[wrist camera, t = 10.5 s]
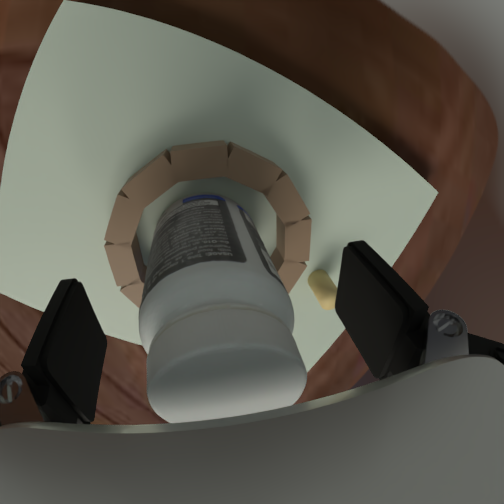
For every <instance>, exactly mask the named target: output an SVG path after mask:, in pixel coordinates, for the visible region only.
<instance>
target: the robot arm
mask: <svg viewBox="0 0 504 504" xmlns="http://www.w3.org/2000/svg"><path fill="white" fill-rule="evenodd" d="M428 308H429V307H428V305H427V304H426V303H425V302H424V301H423V300H422V299H421V298H420V297H419V296H418V294H417V293H416V292H415V291H414V290H413V289H412V288H411V287H410V286H409V285H408V284H407V283H406V282H405V281H404V280H403V279H402V278H401V277H400V276H399V274H398V273H397V272H396V271H395V270H394V269H393V268H392V267H391V266H390V265H389V264H388V263H387V262H386V261H385V260H384V259H383V258H382V257H381V256H380V255H379V254H378V253H377V252H376V251H375V250H374V249H373V248H372V247H371V246H370V245H368V244H367V243H366V242H365V241H364V240H360V241H353V242H349V243H348V244H347V246H346V247H344V248H343V253H342V260H341V267H340V274H339V281H338V287H337V294H336V300H335V311H336V313H337V315H338V317H339V318H340V320H341V322H342V323H343V325H344V327H345V328H346V330H347V332H348V333H349V335H350V337H351V338H352V340H353V342H354V343H355V345H356V347H357V348H358V350H359V352H360V353H361V355H362V357H363V358H364V360H365V362H366V364H367V365H368V367H369V369H370V370H371V372H372V374H373V376H374V377H375V378H379V379H380V380H379V381H376V382H373V383H370V384H367V385H364V386H361V387H358V388H355V389H352V390H348V391H345V392H342V393H338V394H335V395H331V396H328V397H324V398H320V399H316V400H312V401H308V402H304V403H300V404H296V405H292V406H287V407H283V408H278V409H273V410H268V411H263V412H257V413H252V414H246V415H240V416H233V417H226V418H219V419H211V420H202V421H193V422H181V423H168V424H149V425H92V424H90V422H92V421H94V418H95V410H96V403H97V397H98V391H99V385H100V379H101V373H102V368H103V363H104V358H105V353H106V348H107V339H106V336H105V334H104V332H103V330H102V327H101V325H100V323H99V321H98V319H97V317H96V314H95V312H94V310H93V308H92V305H91V303H90V301H89V298H88V296H87V293H86V291H85V288H84V286H83V284H82V283H81V282H78V280H77V279H76V278H71V279H64V280H61V281H60V282H59V284H58V286H57V288H56V290H55V291H54V293H53V295H52V297H51V299H50V301H49V303H48V305H47V307H46V309H45V311H44V313H43V315H42V317H41V319H40V322H39V324H38V326H37V328H36V330H35V333H34V335H33V337H32V339H31V342H30V344H29V346H28V349H27V351H26V354H25V356H24V359H23V361H22V364H21V366H22V367H23V369H24V370H23V372H22V374H21V373H20V372H16V371H12V372H8V373H6V374H4V375H3V376H2V377H1V378H0V504H504V344H502V343H499V342H496V341H492V340H489V339H486V338H483V337H479V336H476V335H473V334H469V333H468V332H467V326H466V324H465V322H464V320H463V319H462V318H461V317H460V316H459V315H457V314H455V313H453V312H451V311H448V310H437V311H435V312H433V313H432V314H431V315H430V314H429V313H428V312H427V310H428Z"/></svg>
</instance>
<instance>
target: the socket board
mask: <svg viewBox="0 0 504 504" xmlns="http://www.w3.org/2000/svg"><path fill="white" fill-rule="evenodd" d="M197 193H214V194H219V195H222V196H225V197H228V198H230V199H232V200H233V201H235V202H236V203H238V204H239V205H240V206H241V207H242V208H243V209H244V210H245V211H246V212H247V213H248V214H249V216H250V218H251V219H252V221H253V223H254V225H255V227H256V229H257V231H258V233H259V235H260V237H261V240H262V241H263V243H264V246H265V248H266V250H267V252H268V254H269V256H270V258H271V260H272V262H273V264H274V266H275V268H276V270H277V272H278V274H279V276H280V278H281V280H282V282H283V284H284V286H285V288H286V290H287V292H288V295H289V297H290V299H291V302H292V306H293V310H294V320H295V322H294V329H293V333H292V335H293V337H294V339H295V342H296V344H297V347H298V350H299V352H300V355H301V357H302V360H303V362H304V364H305V367H306V371H307V372H308V371H309V370H310V369H311V368H312V367H313V365H314V364H315V363H316V362H317V361H318V360H319V359H320V358H321V356H322V355H323V354H324V353H325V352H326V351H327V350H328V348H329V347H330V346H331V345H332V344H333V343H334V341H335V340H336V339H337V338H338V337H339V335H340V334H341V333H342V332H343V331H344V329H345V327H344V325H343V323H342V322H341V320H340V318H339V317H338V315H337V313H336V311H335V300H336V294H337V287H338V281H339V274H340V267H341V260H342V253H343V248H344V247H346V246H347V244H348V243H349V242H353V241H360V240H364V241H365V242H366V243H367V244H368V245H370V246H371V247H372V248H373V249H374V250H375V251H376V252H377V253H378V254H379V255H380V256H381V257H382V258H383V259H384V260H385V261H386V262H387V263H388V264H389V265H390V266H391V267H392V266H393V264H394V263H395V261H396V260H397V258H398V257H399V255H400V254H401V252H402V251H403V249H404V248H405V246H406V245H407V243H408V242H409V240H410V238H411V237H412V235H413V234H414V232H415V231H416V229H417V227H418V226H419V224H420V223H421V221H422V219H423V218H424V216H425V214H426V213H427V211H428V209H429V208H430V206H431V204H432V202H433V201H434V199H435V197H436V195H437V194H438V192H437V191H436V190H435V189H434V188H433V187H432V186H431V185H430V184H429V183H428V182H427V181H426V180H425V179H424V178H423V177H421V176H420V175H419V174H418V173H417V172H416V171H415V170H414V169H413V168H411V167H410V166H409V165H408V164H407V163H406V162H405V161H403V160H402V159H401V158H400V157H399V156H398V155H396V154H395V153H394V152H393V151H392V150H390V149H389V148H388V147H387V146H385V145H384V144H383V143H382V142H380V141H379V140H378V139H377V138H375V137H374V136H373V135H371V134H370V133H369V132H367V131H366V130H365V129H363V128H362V127H361V126H359V125H358V124H357V123H355V122H354V121H353V120H351V119H350V118H348V117H347V116H345V115H344V114H343V113H341V112H340V111H338V110H337V109H335V108H334V107H332V106H331V105H329V104H328V103H326V102H325V101H323V100H322V99H320V98H319V97H317V96H315V95H314V94H312V93H311V92H309V91H307V90H306V89H304V88H302V87H301V86H299V85H297V84H296V83H294V82H292V81H291V80H289V79H287V78H285V77H284V76H282V75H280V74H278V73H276V72H274V71H273V70H271V69H269V68H267V67H265V66H263V65H261V64H259V63H257V62H255V61H253V60H251V59H249V58H247V57H245V56H243V55H241V54H239V53H237V52H235V51H233V50H231V49H228V48H226V47H224V46H222V45H219V44H217V43H215V42H212V41H210V40H208V39H205V38H203V37H200V36H198V35H195V34H192V33H190V32H187V31H184V30H182V29H179V28H176V27H173V26H170V25H167V24H164V23H161V22H158V21H155V20H152V19H149V18H145V17H142V16H138V15H135V14H131V13H127V12H123V11H119V10H115V9H111V8H106V7H101V6H96V5H91V4H86V3H80V2H74V1H66V0H64V1H63V2H62V4H61V6H60V8H59V9H58V11H57V13H56V15H55V17H54V19H53V20H52V22H51V24H50V26H49V28H48V30H47V32H46V34H45V36H44V39H43V41H42V43H41V45H40V47H39V50H38V52H37V54H36V56H35V59H34V61H33V64H32V66H31V69H30V71H29V74H28V77H27V79H26V82H25V85H24V88H23V91H22V94H21V97H20V100H19V103H18V107H17V110H16V114H15V117H14V121H13V125H12V129H11V133H10V137H9V141H8V146H7V151H6V156H5V161H4V167H3V173H2V180H1V187H0V293H2V294H4V295H6V296H8V297H10V298H13V299H15V300H17V301H19V302H21V303H24V304H26V305H28V306H31V307H33V308H35V309H38V310H40V311H43V312H44V311H45V309H46V307H47V305H48V303H49V301H50V299H51V297H52V295H53V293H54V291H55V290H56V288H57V286H58V284H59V282H60V281H61V280H64V279H71V278H76V279H77V280H78V282H81V283H82V284H83V286H84V288H85V291H86V293H87V296H88V298H89V301H90V303H91V305H92V308H93V310H94V312H95V314H96V317H97V319H98V321H99V323H100V325H101V327H102V330H103V332H104V334H106V335H109V336H112V337H116V338H119V339H122V340H126V341H129V342H132V343H136V344H139V345H142V342H141V339H140V335H139V319H138V318H139V308H140V305H141V301H142V294H143V288H144V283H145V275H146V270H147V264H148V259H149V255H150V249H151V245H152V240H153V235H154V231H155V228H156V225H157V223H158V221H159V219H160V218H161V216H162V215H163V213H164V212H165V211H166V209H167V208H168V207H169V206H171V205H172V204H173V203H175V202H176V201H178V200H179V199H182V198H184V197H186V196H189V195H192V194H197Z"/></svg>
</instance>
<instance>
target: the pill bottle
mask: <svg viewBox="0 0 504 504" xmlns="http://www.w3.org/2000/svg"><path fill="white" fill-rule="evenodd" d="M138 319H139V335H140V339H141V342H142V345H143V347H144V349H145V351H146V352H147V354H148V356H147V395H148V400H149V403H150V405H151V406H152V408H153V409H154V411H155V412H156V413H157V414H158V415H159V416H161V417H162V418H163V419H164V420H166V421H168V422H170V423H181V422H193V421H202V420H211V419H219V418H226V417H233V416H240V415H246V414H252V413H257V412H263V411H268V410H273V409H278V408H283V407H287V406H292V405H293V404H294V403H295V402H296V401H297V400H298V399H299V397H300V396H301V394H302V392H303V390H304V388H305V386H306V381H307V371H306V367H305V364H304V362H303V360H302V357H301V355H300V352H299V350H298V347H297V344H296V342H295V339H294V337H293V335H292V333H293V329H294V322H295V320H294V310H293V306H292V302H291V299H290V297H289V295H288V292H287V290H286V288H285V286H284V284H283V282H282V280H281V278H280V276H279V274H278V272H277V270H276V268H275V266H274V264H273V262H272V260H271V258H270V256H269V254H268V252H267V250H266V248H265V246H264V243H263V241H262V240H261V237H260V235H259V233H258V231H257V229H256V227H255V225H254V223H253V221H252V219H251V218H250V216H249V214H248V213H247V212H246V211H245V210H244V209H243V208H242V207H241V206H240V205H239V204H238V203H236V202H235V201H233V200H232V199H230V198H228V197H225V196H222V195H219V194H214V193H197V194H192V195H189V196H186V197H184V198H182V199H179V200H178V201H176V202H175V203H173V204H172V205H171V206H169V207H168V208H167V209H166V211H165V212H164V213H163V215H162V216H161V218H160V219H159V221H158V223H157V225H156V228H155V231H154V235H153V240H152V245H151V249H150V255H149V259H148V264H147V270H146V275H145V283H144V288H143V294H142V301H141V305H140V308H139V318H138Z"/></svg>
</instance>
